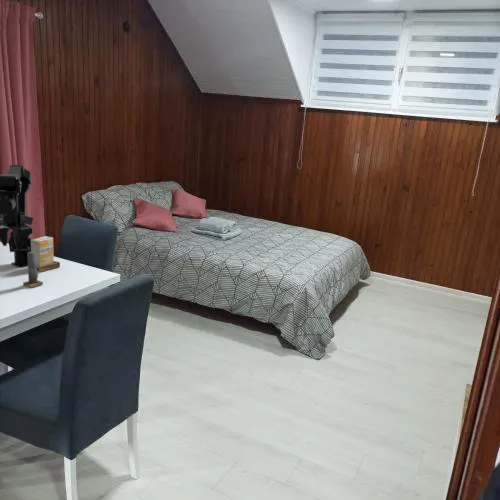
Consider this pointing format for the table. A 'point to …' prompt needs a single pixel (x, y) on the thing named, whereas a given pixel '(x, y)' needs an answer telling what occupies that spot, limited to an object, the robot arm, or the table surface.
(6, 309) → the table surface
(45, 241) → the supplement box
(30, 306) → the table surface
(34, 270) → the grey knob lever
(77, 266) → the table surface
